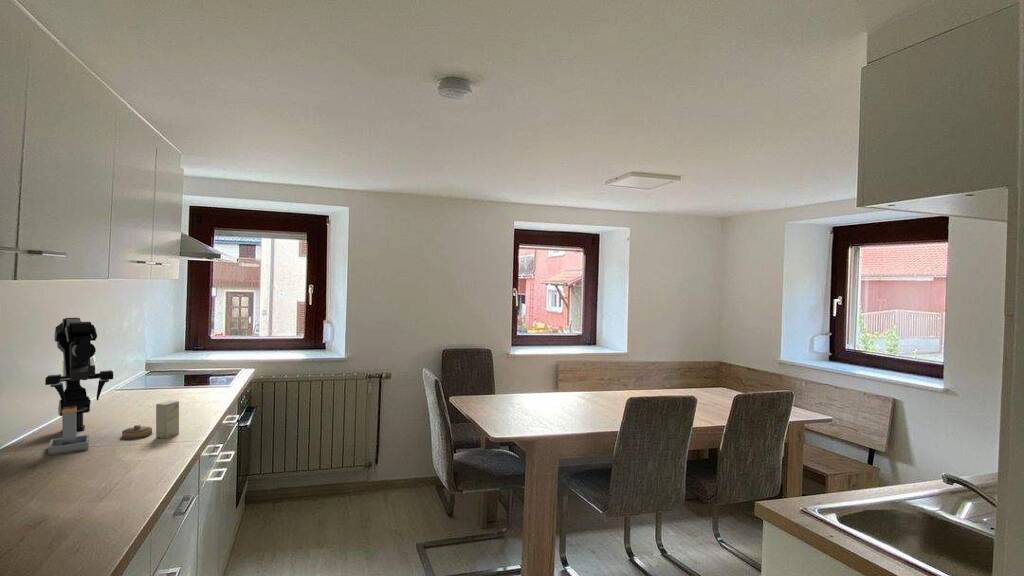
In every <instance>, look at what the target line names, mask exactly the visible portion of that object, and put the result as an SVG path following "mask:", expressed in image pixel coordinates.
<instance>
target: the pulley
mask: <svg viewBox="0 0 1024 576" xmlns="http://www.w3.org/2000/svg"><path fill="white" fill-rule="evenodd" d="M149 435H150V436H151V435H153V427H151V426H145V425H140V424H135V425H133V427H128V428H126V429H123V430H121V438H122V439H125V440H134V439H135V440H136V438H138V439H143V438H147V437H149ZM146 436H147V437H146ZM142 437H143V438H142Z"/></svg>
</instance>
